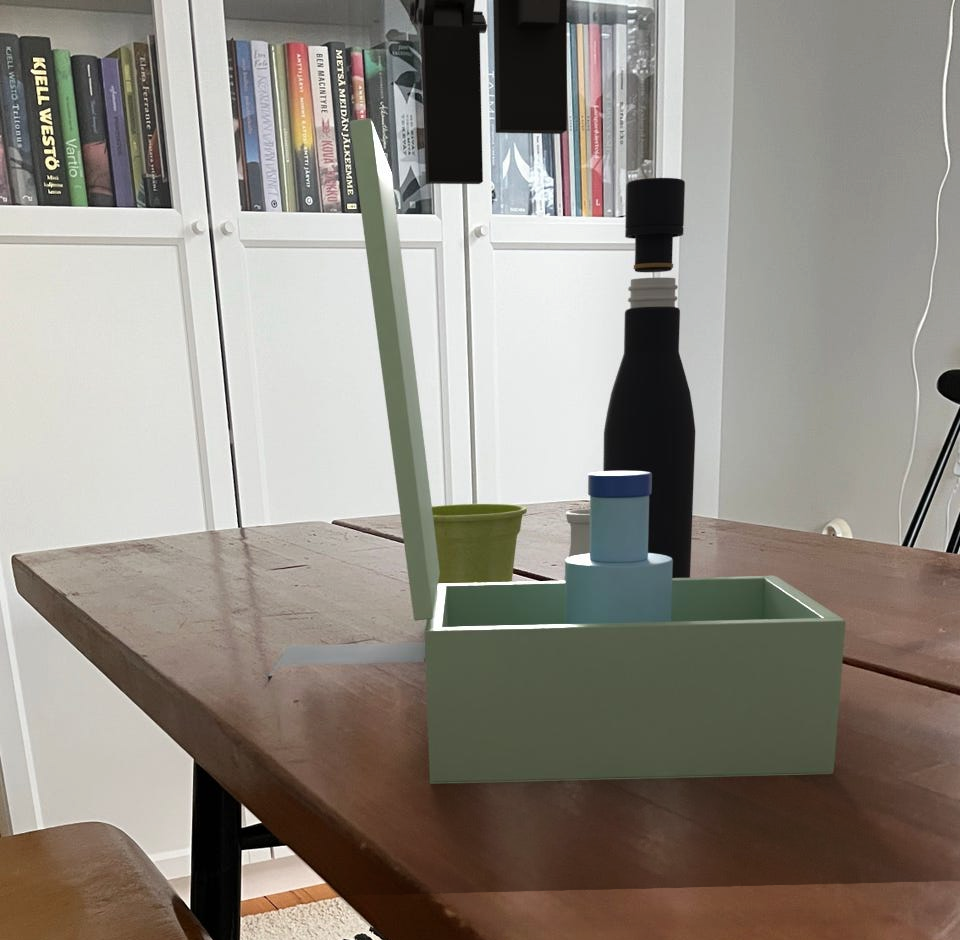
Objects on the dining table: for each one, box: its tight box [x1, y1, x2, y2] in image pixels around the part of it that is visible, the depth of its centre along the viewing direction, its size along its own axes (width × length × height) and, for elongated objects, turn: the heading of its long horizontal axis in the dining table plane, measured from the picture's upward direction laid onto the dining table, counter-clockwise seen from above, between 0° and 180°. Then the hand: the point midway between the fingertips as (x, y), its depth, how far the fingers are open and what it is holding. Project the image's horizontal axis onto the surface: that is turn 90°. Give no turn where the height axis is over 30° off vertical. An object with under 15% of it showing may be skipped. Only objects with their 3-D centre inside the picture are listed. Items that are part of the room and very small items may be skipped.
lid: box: [349, 117, 440, 621], centre depth 58 cm, size 19×14×1 cm
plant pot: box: [432, 503, 528, 584], centre depth 100 cm, size 9×9×9 cm
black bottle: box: [602, 177, 696, 578], centre depth 88 cm, size 6×6×30 cm
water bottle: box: [564, 471, 673, 624], centre depth 62 cm, size 5×5×13 cm
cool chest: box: [423, 575, 847, 785], centre depth 63 cm, size 19×14×8 cm
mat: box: [267, 641, 425, 682], centre depth 86 cm, size 10×10×1 cm
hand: (488, 161), depth 56 cm, fingers open, 13 cm apart
